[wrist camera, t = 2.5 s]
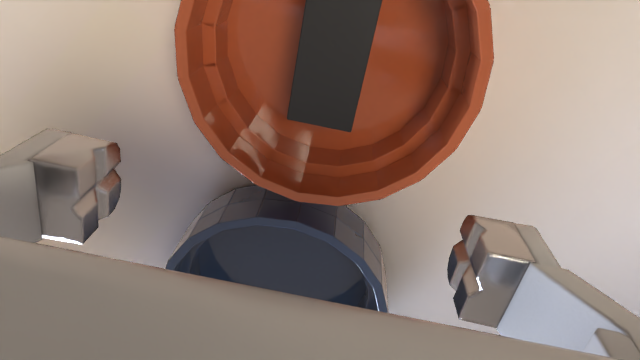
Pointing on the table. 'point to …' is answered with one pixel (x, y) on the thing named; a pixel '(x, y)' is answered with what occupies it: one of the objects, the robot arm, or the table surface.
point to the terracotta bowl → (373, 106)
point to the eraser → (332, 61)
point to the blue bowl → (285, 248)
